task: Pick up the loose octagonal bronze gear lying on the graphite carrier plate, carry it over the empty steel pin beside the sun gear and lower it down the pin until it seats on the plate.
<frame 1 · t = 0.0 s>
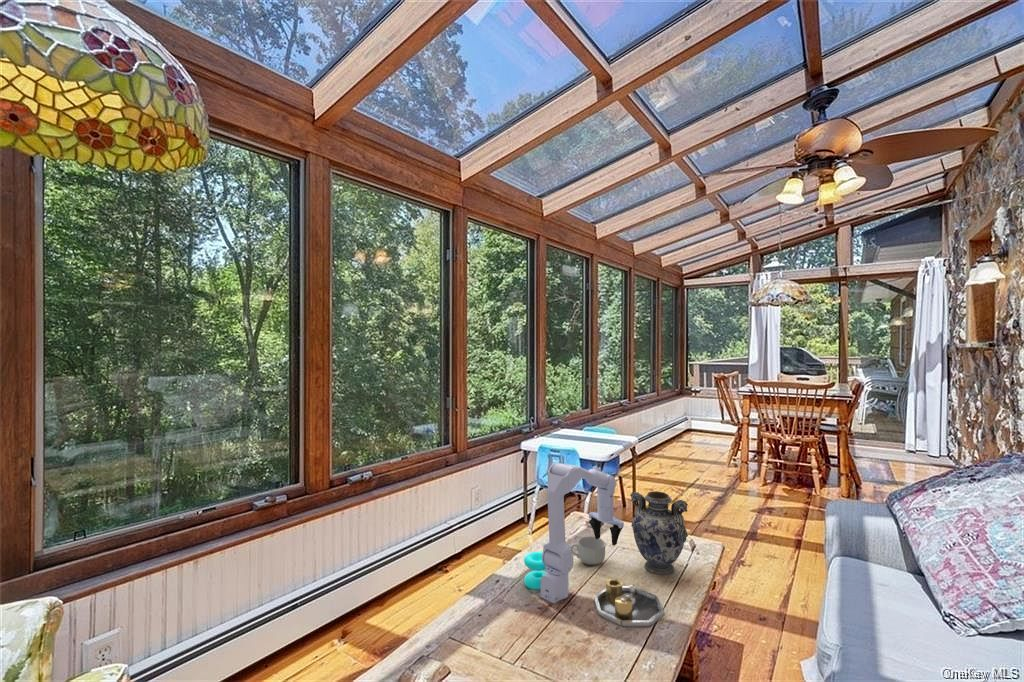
hand: (606, 541, 179), 10 cm above the table, fingers open, 7 cm apart
teacup: (587, 562, 184), on the table
donuts: (538, 585, 167), on the table
decorative vase: (658, 568, 178), on the table
carrier: (628, 609, 151), on the table
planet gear: (614, 597, 156), point 1 cm above the table, touching carrier
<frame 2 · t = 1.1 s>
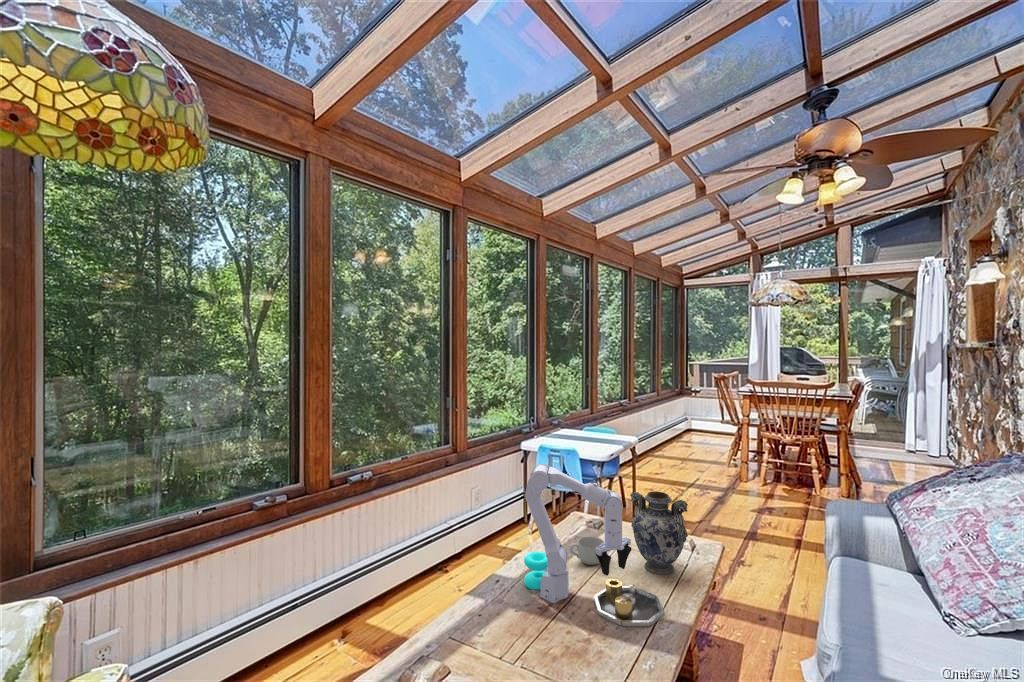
hand: (613, 571, 156), 10 cm above the table, fingers open, 7 cm apart
nothing on the table moved.
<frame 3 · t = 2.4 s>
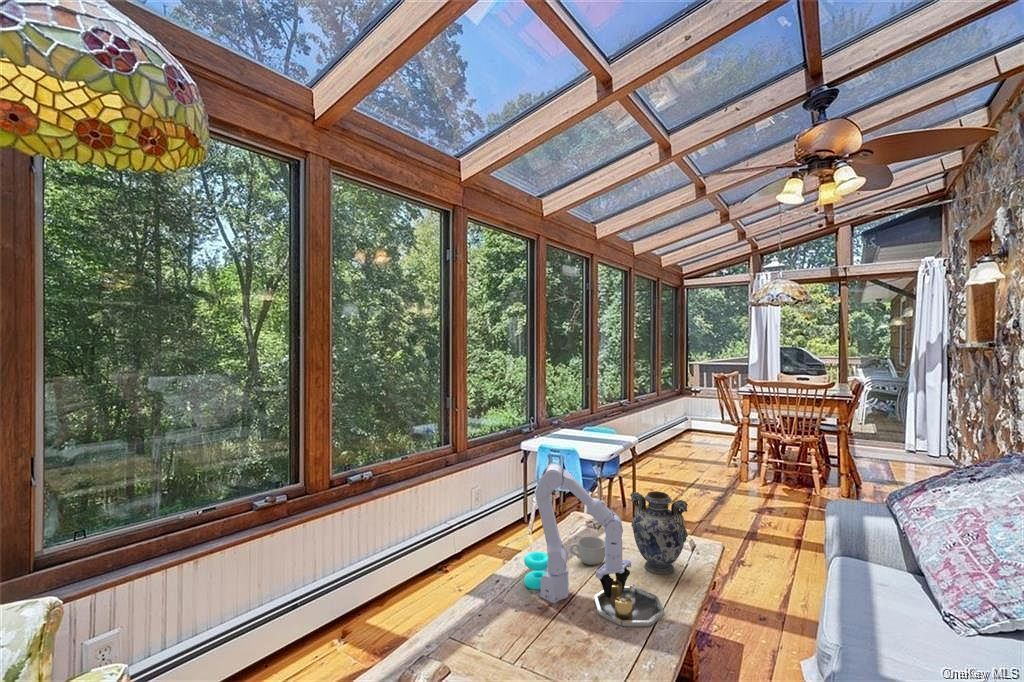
hand: (613, 593, 156), 2 cm above the table, fingers closed on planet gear, 5 cm apart
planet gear: (614, 597, 156), point 1 cm above the table, touching carrier, gripper
everything else where it was.
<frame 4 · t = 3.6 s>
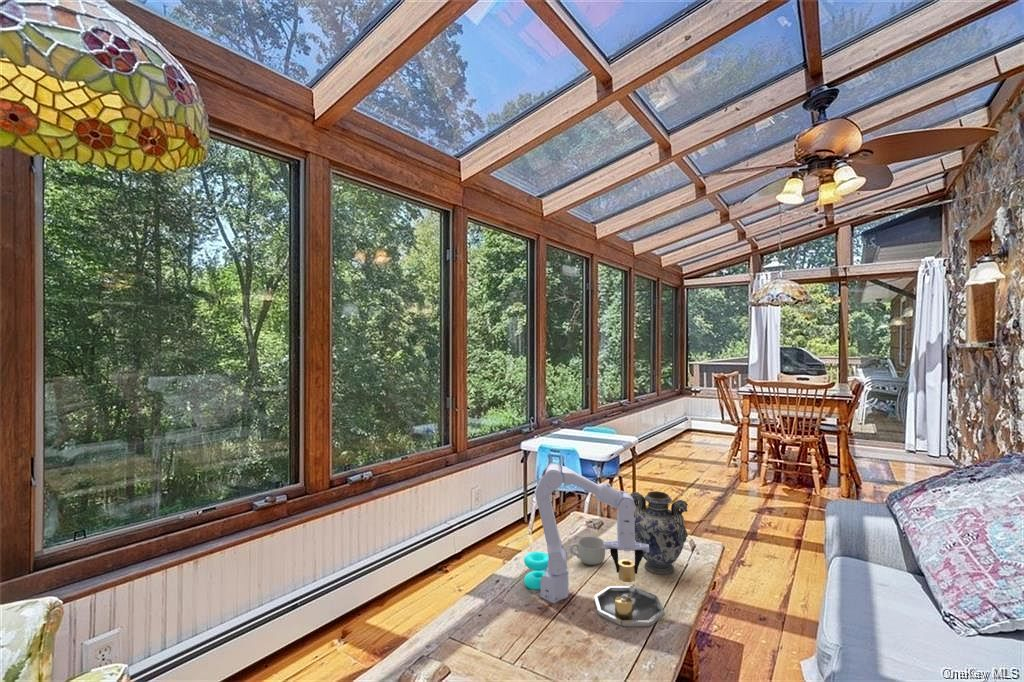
hand: (626, 571, 156), 10 cm above the table, fingers closed on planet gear, 5 cm apart
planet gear: (626, 578, 156), point 7 cm above the table, touching gripper
everything else where it was.
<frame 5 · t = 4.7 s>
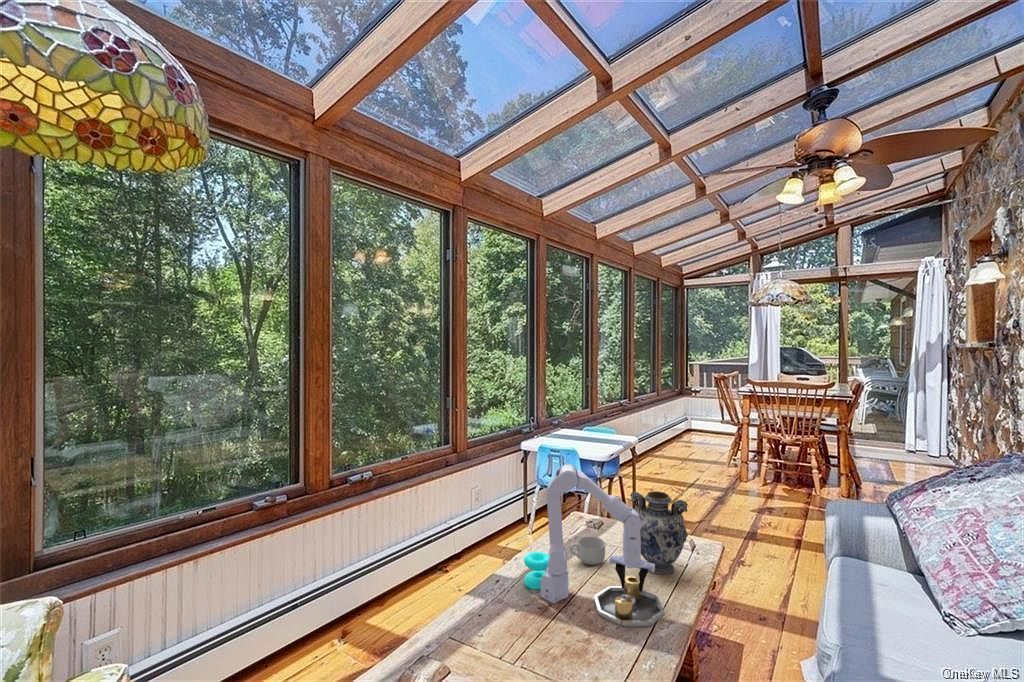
hand: (632, 588, 157), 4 cm above the table, fingers closed on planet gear, 5 cm apart
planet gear: (632, 594, 157), point 2 cm above the table, touching gripper
everything else where it was.
when the fingers open (4 cm above the table, at t = 5.1 s): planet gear stays where it is, resting on carrier.
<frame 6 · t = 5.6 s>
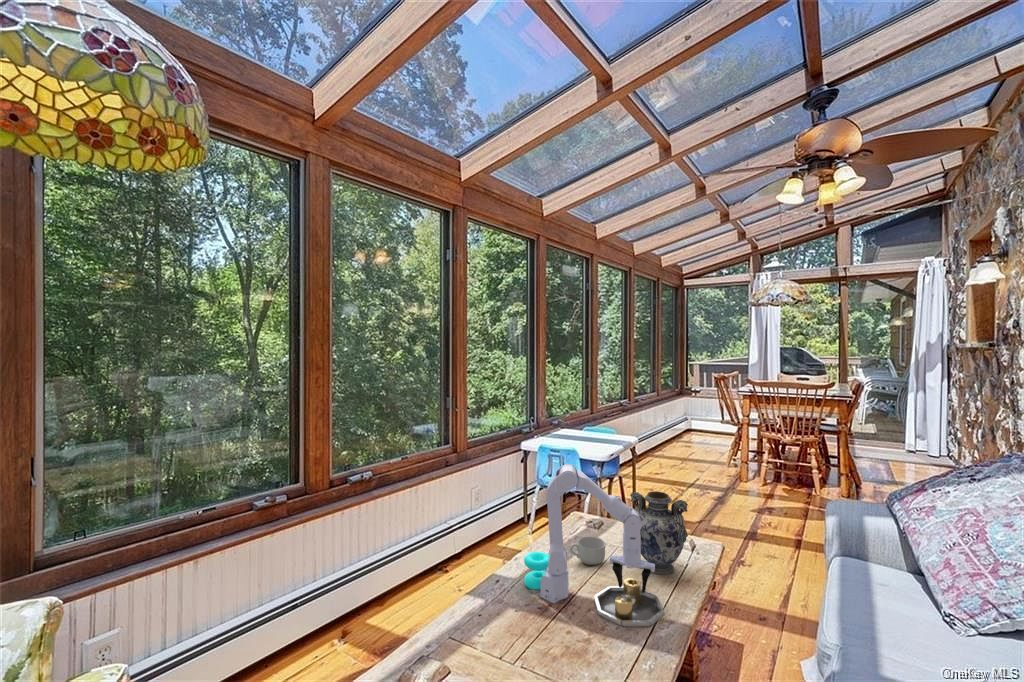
hand: (632, 588, 157), 4 cm above the table, fingers open, 7 cm apart
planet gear: (632, 597, 157), point 1 cm above the table, touching carrier
everything else where it was.
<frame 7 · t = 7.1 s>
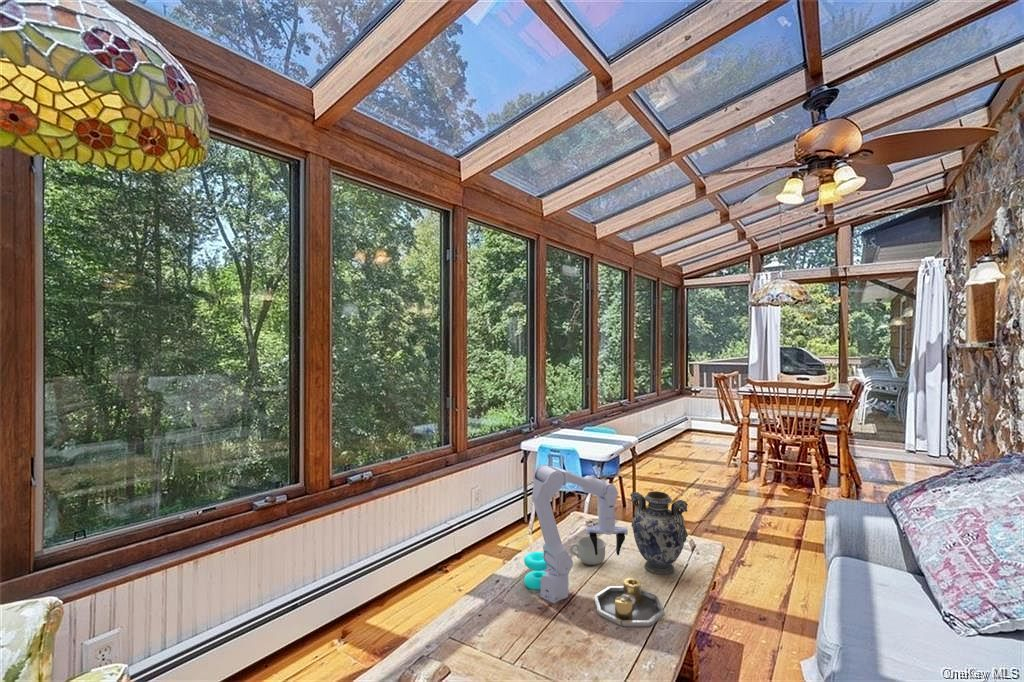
hand: (606, 553, 169), 10 cm above the table, fingers open, 7 cm apart
nothing on the table moved.
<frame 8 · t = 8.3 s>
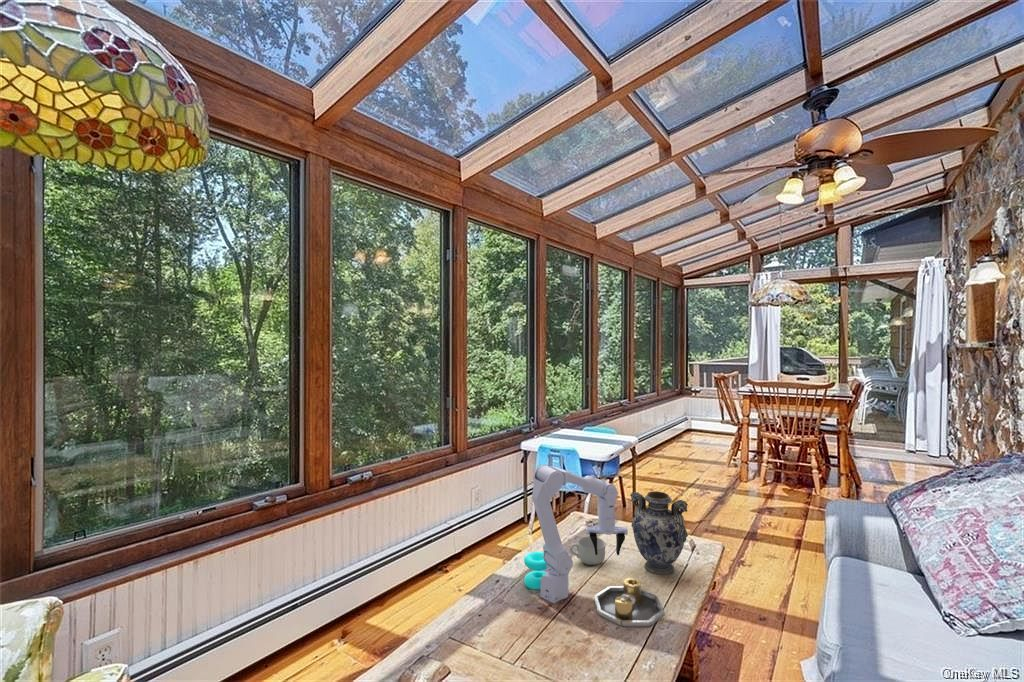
hand: (606, 553, 169), 10 cm above the table, fingers open, 7 cm apart
nothing on the table moved.
at the end: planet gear 0.0 cm from the target spot on the carrier, point 1.0 cm above the carrier's base; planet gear tilted 0°; the gripper is holding nothing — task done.
